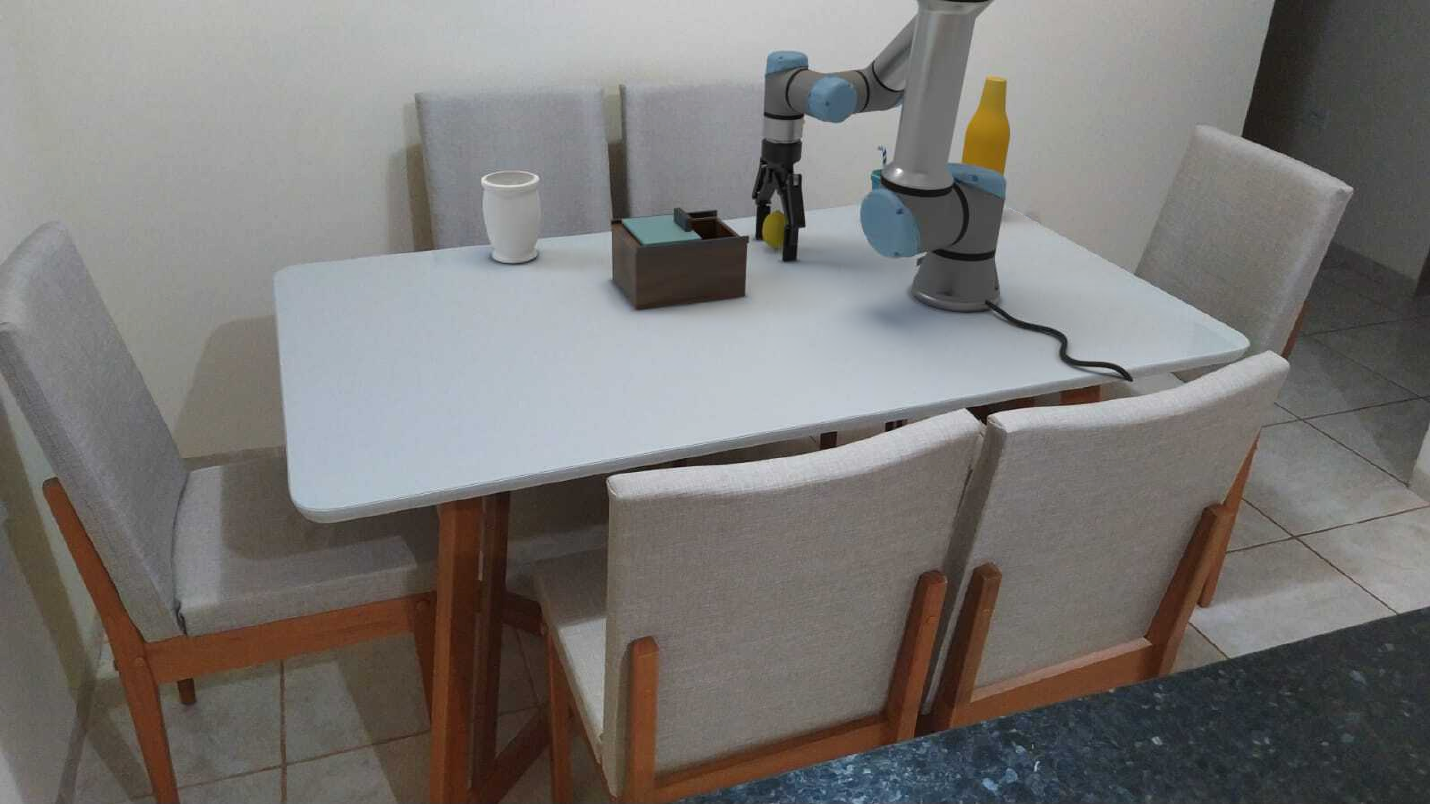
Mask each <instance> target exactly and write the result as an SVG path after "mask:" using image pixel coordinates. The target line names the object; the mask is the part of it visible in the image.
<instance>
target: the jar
mask: <svg viewBox="0 0 1430 804" xmlns="http://www.w3.org/2000/svg"><path fill="white" fill-rule="evenodd" d="M480 184H481V187H482V188H483V189H484V191H483V195H482V215H483V221H484V225H485V228H486V234H487V237H488V240H489V243H490V244H491V246H492V249H493V250H492V253H491V257H492V258H493V260H495V261H497V262H500V263H503V264H504V263H506V264H520V263H527V262H529V261H532V260H534V259H535V258H536V257H537V256H538V251H537V249H536V247H535V246H536V244H537V242H538V239H539V236H540V235H539V234H540V223H541V216H542V211H541V210H542V209H541V199H540V195H539V190H538V188H537V187H538V186H539V184H540V177H539V176H538V175H537V174H535V173H532V172H529V171H520V170H504V171H497V172H496V171H495V172H492V173H488V174H486V175H483V176H482V177H481V179H480Z"/></svg>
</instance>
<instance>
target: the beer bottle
mask: <svg viewBox="0 0 1430 804" xmlns="http://www.w3.org/2000/svg"><path fill="white" fill-rule="evenodd" d="M1007 81H1008V80H1007V79H1006V78H1004V77H998V76H988V77H986V78H985V80H984V84H983V88H982V92H981V96H980V100H979V103H978V107H977V109H976V111H975V113H973V116H972V117H971V118H970V120H969V122H968V125H967V128H966V130H965V135H964V142H963V148H962V155H961V162H960V163H962V164H969V165H975V166H980V167H984V168H987V169H991V170H994V171H996V172H998V173H1000V174H1002V175H1003V176H1004V175H1005V169H1006V163H1007V157H1008V153H1009V146H1010V145H1009V144H1010V140H1011V127H1010V122H1009V118H1008V116H1007V111H1006V104H1007V103H1006V102H1007V84H1008V82H1007ZM1004 177H1005V176H1004Z"/></svg>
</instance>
